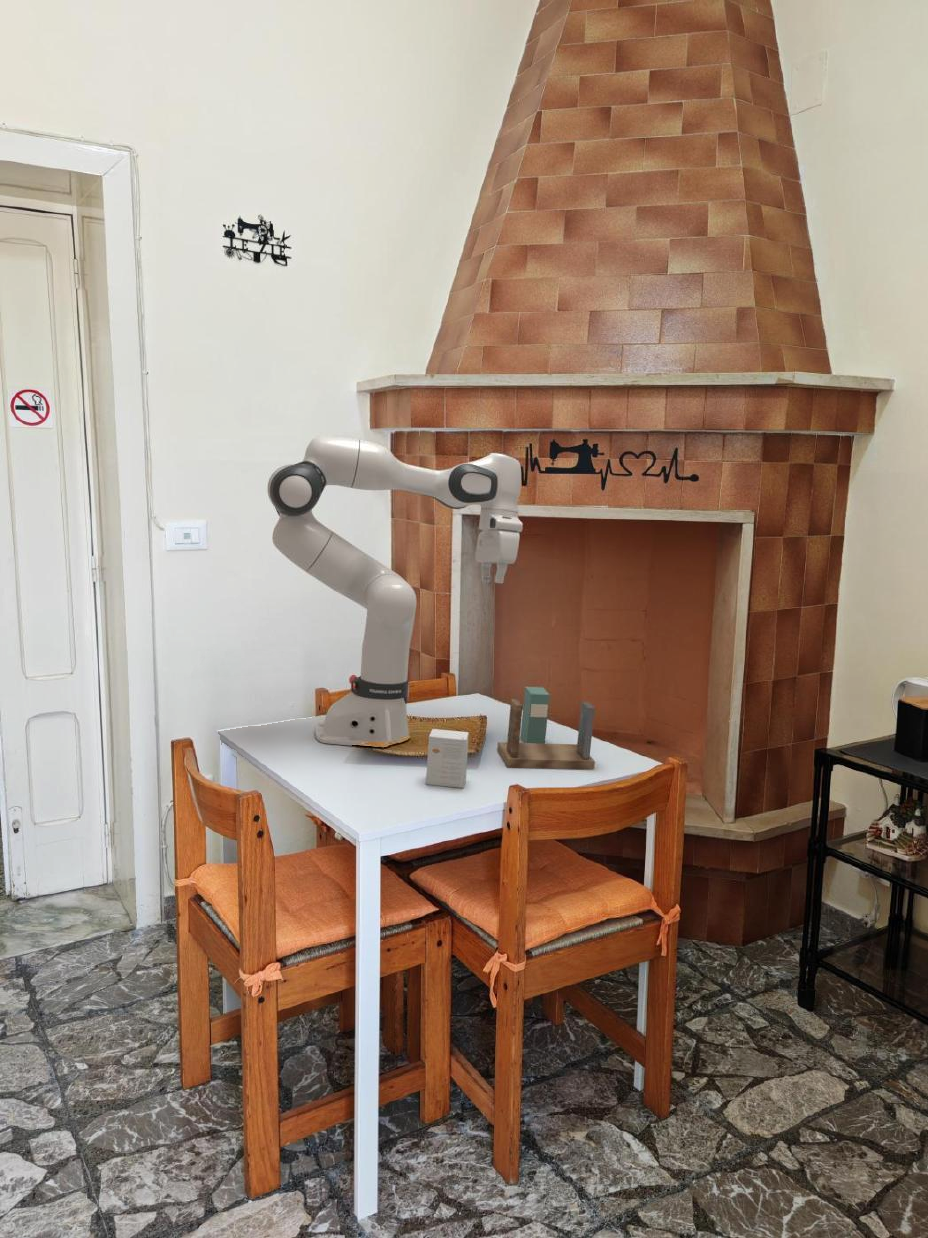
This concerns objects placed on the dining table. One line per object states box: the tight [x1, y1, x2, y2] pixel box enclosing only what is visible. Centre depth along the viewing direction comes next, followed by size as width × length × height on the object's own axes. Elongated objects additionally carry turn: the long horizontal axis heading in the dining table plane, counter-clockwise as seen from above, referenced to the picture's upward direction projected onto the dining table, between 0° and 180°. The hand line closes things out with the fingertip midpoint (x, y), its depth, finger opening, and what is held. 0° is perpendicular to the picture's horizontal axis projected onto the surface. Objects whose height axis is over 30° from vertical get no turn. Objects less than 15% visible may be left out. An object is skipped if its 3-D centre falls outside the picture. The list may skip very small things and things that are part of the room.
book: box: [520, 686, 550, 744], centre depth 224 cm, size 4×7×13 cm, turn 8°
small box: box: [425, 728, 470, 789], centre depth 192 cm, size 8×6×10 cm
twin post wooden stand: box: [496, 698, 596, 770], centre depth 211 cm, size 20×12×14 cm, turn 98°
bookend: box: [576, 701, 595, 760], centre depth 210 cm, size 2×6×12 cm, turn 9°
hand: (492, 582), depth 217 cm, fingers open, 8 cm apart
